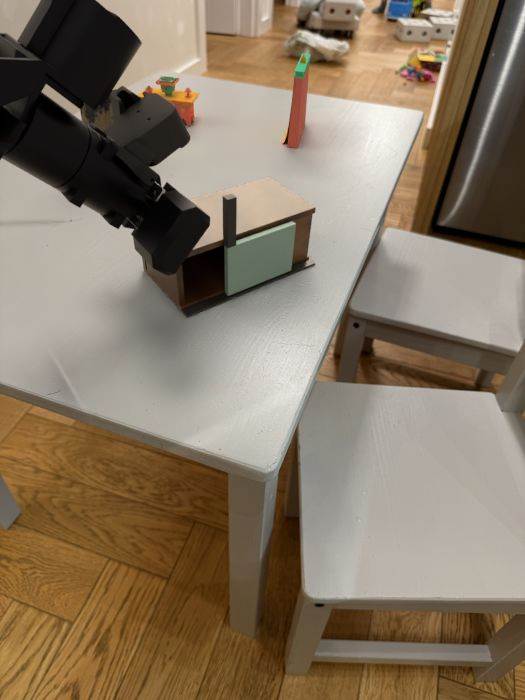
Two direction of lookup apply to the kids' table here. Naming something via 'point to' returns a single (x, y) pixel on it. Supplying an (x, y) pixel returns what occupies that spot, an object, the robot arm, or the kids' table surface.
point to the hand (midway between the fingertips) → (192, 235)
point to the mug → (98, 114)
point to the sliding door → (254, 251)
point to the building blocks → (187, 97)
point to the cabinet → (252, 217)
